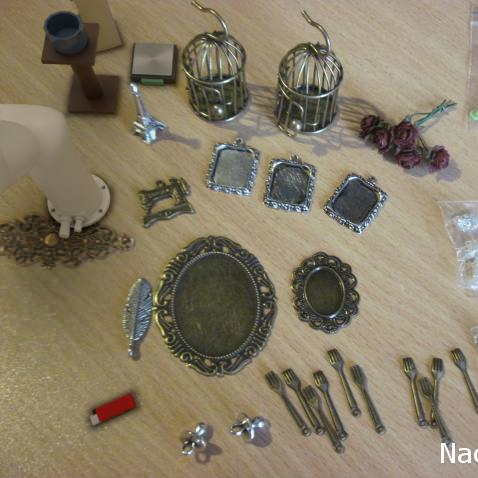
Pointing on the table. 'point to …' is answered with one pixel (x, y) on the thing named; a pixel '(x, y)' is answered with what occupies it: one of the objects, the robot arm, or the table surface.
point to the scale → (154, 63)
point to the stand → (85, 76)
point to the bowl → (66, 32)
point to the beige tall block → (99, 21)
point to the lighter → (112, 409)
